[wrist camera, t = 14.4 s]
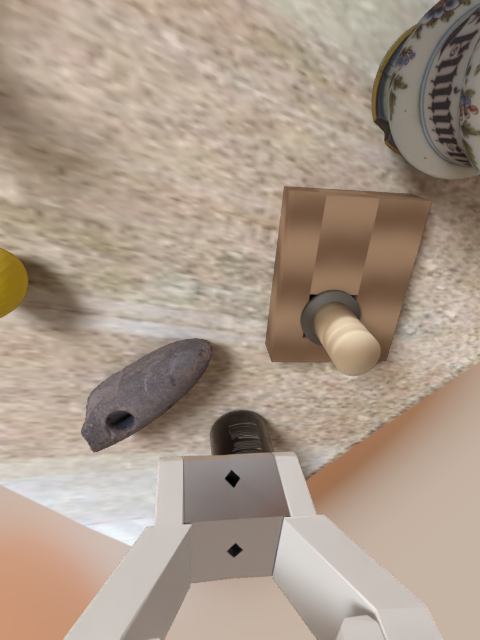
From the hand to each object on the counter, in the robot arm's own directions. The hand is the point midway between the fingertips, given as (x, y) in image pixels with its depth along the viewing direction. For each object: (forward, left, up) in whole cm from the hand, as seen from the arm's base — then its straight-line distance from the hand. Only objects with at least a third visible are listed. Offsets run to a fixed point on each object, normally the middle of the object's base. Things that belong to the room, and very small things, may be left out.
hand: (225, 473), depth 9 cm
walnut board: (+6, +14, -29) cm, 33 cm away
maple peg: (+9, +13, -29) cm, 33 cm away
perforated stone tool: (+17, -4, -29) cm, 34 cm away
